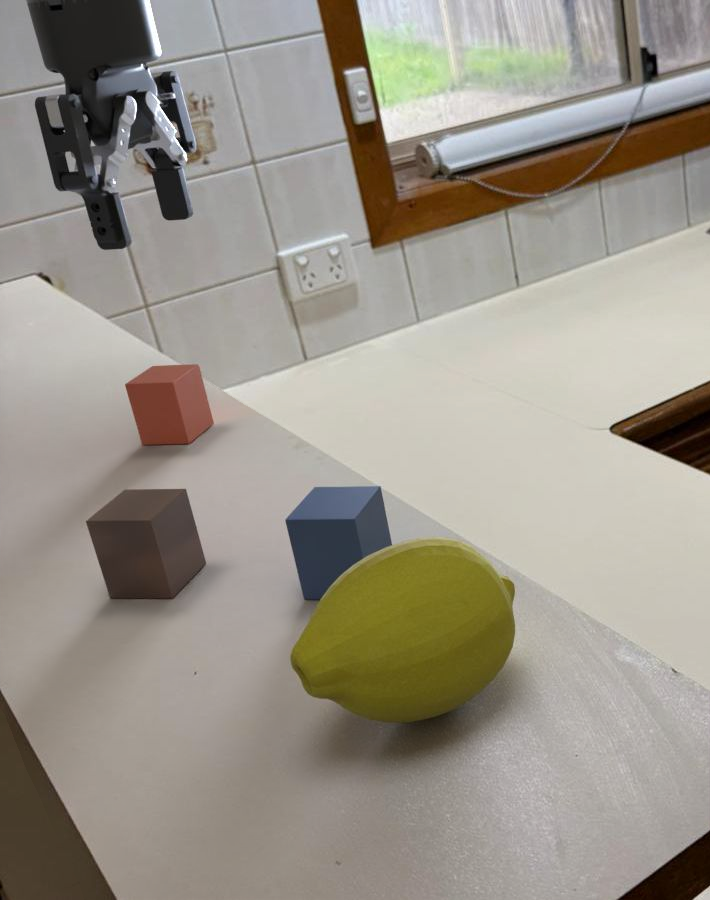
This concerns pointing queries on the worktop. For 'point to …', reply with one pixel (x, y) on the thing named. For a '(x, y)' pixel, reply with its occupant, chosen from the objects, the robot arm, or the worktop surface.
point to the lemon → (408, 632)
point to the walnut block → (147, 543)
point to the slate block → (335, 533)
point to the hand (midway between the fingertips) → (148, 233)
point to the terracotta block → (169, 404)
